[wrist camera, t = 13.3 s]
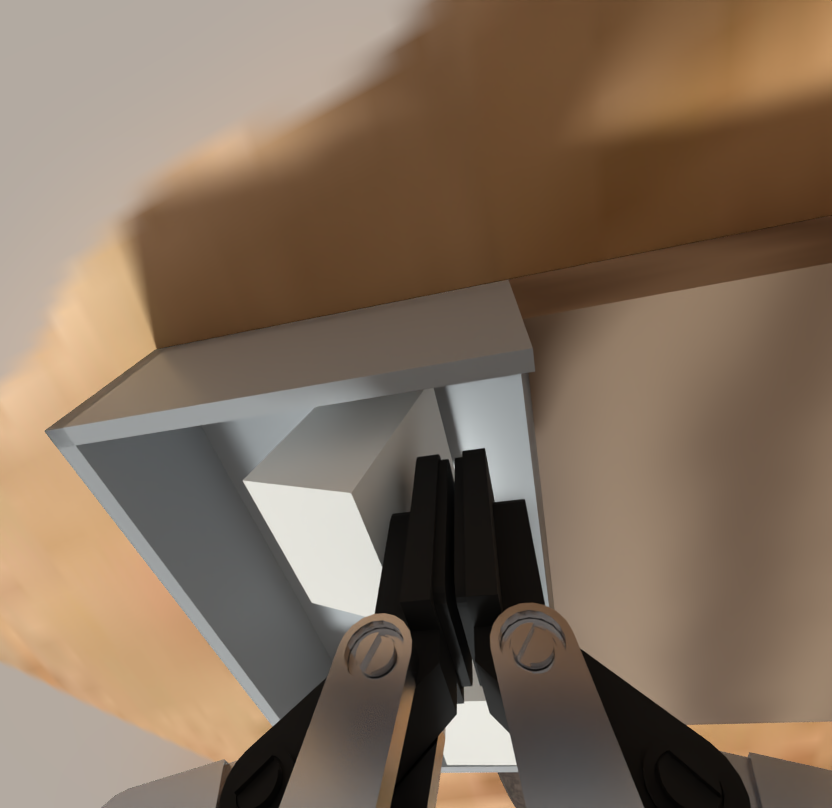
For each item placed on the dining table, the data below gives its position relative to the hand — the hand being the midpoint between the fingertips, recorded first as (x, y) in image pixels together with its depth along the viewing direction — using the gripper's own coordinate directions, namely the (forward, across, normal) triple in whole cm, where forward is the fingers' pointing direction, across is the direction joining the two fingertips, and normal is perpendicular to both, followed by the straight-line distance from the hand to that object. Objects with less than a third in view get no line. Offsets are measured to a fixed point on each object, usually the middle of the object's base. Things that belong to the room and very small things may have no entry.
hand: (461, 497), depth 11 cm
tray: (+4, +4, +5) cm, 7 cm away
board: (+4, -8, +5) cm, 10 cm away
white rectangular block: (0, +1, 0) cm, 1 cm away
